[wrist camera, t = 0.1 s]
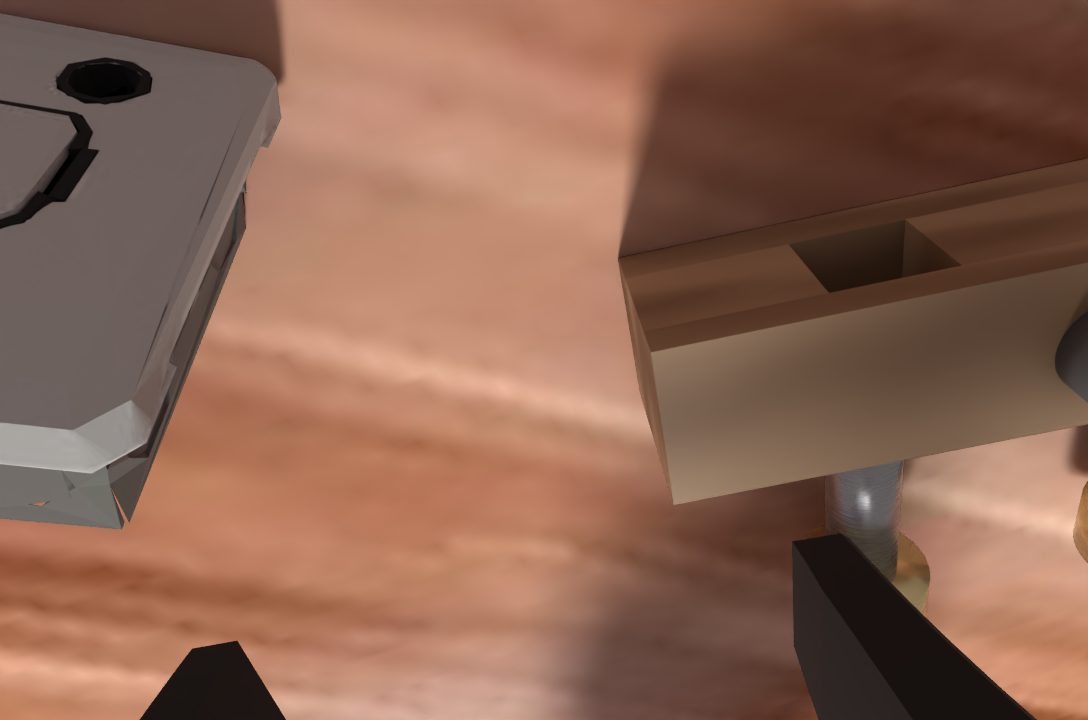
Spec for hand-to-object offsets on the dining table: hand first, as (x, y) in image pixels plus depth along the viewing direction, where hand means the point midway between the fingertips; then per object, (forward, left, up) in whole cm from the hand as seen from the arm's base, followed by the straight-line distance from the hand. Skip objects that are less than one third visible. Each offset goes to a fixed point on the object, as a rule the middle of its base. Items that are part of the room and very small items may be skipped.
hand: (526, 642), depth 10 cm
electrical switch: (+5, +8, -10) cm, 14 cm away
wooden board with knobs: (-2, -12, -10) cm, 16 cm away
